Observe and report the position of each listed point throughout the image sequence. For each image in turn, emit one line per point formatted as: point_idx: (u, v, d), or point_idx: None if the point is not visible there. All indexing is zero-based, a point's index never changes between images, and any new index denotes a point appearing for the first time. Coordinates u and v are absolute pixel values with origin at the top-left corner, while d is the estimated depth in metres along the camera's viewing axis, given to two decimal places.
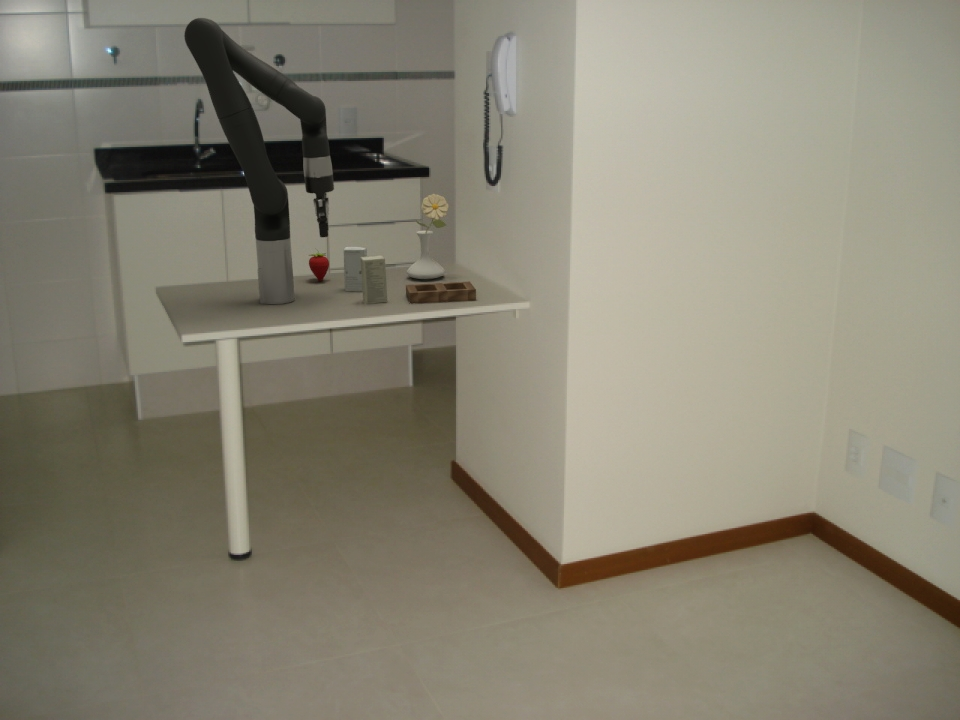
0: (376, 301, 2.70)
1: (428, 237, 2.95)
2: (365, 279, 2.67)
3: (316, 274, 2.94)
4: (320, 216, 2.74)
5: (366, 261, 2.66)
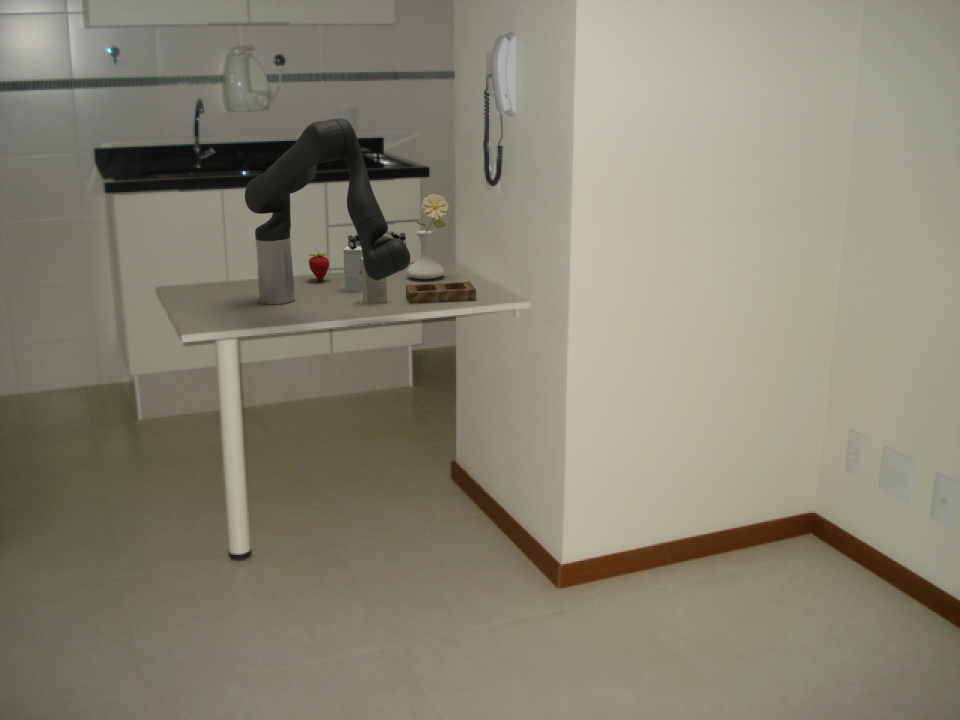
0: (376, 301, 2.70)
1: (428, 237, 2.95)
2: (365, 279, 2.67)
3: (316, 274, 2.94)
4: None
5: None
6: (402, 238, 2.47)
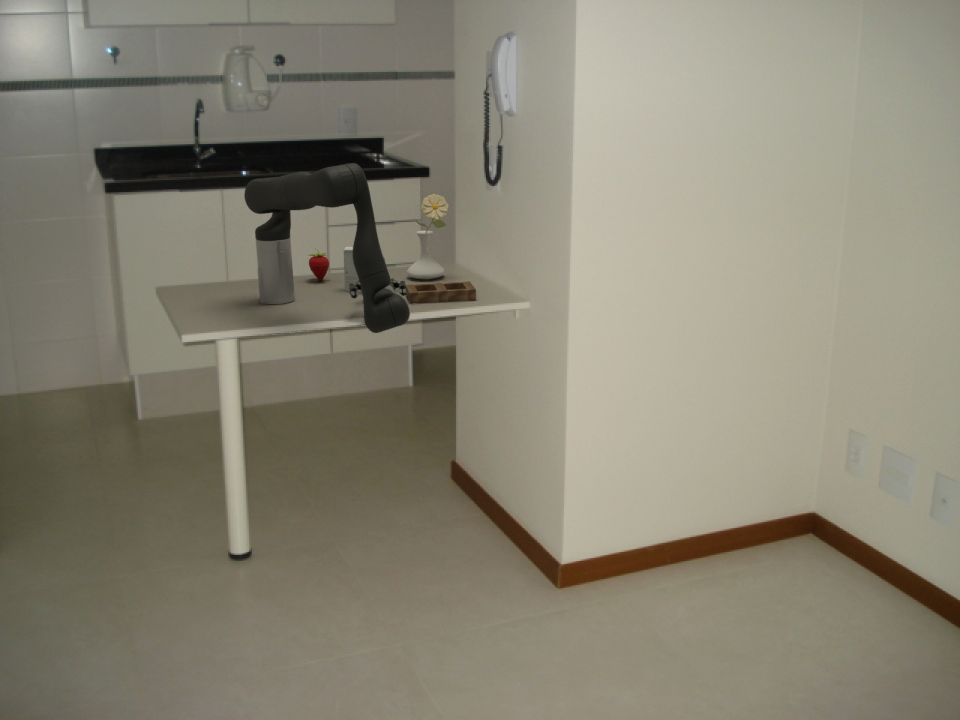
0: None
1: (428, 237, 2.95)
2: None
3: (316, 274, 2.94)
4: None
5: None
6: (402, 287, 2.53)
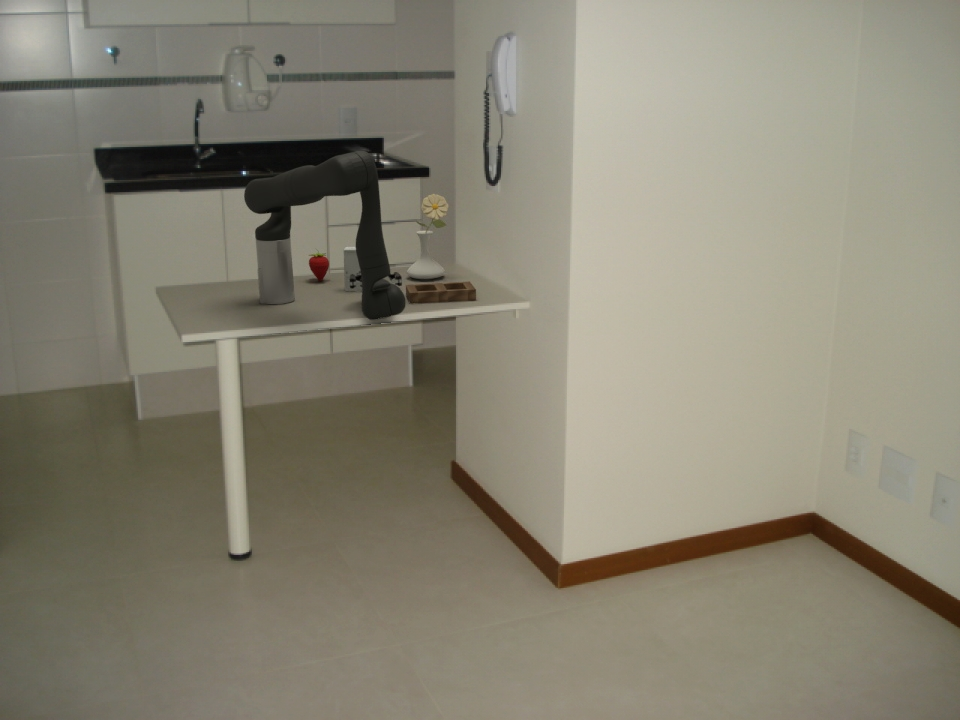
0: None
1: (428, 237, 2.95)
2: None
3: (316, 274, 2.94)
4: None
5: None
6: (398, 278, 2.63)
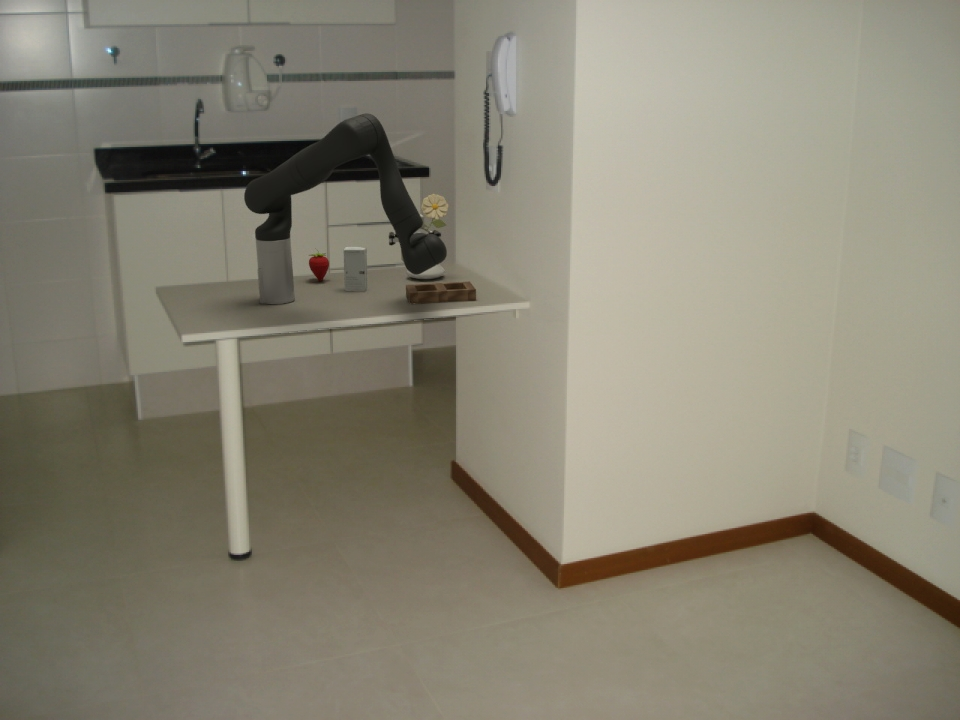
0: None
1: None
2: None
3: (316, 274, 2.94)
4: None
5: None
6: (438, 235, 2.61)
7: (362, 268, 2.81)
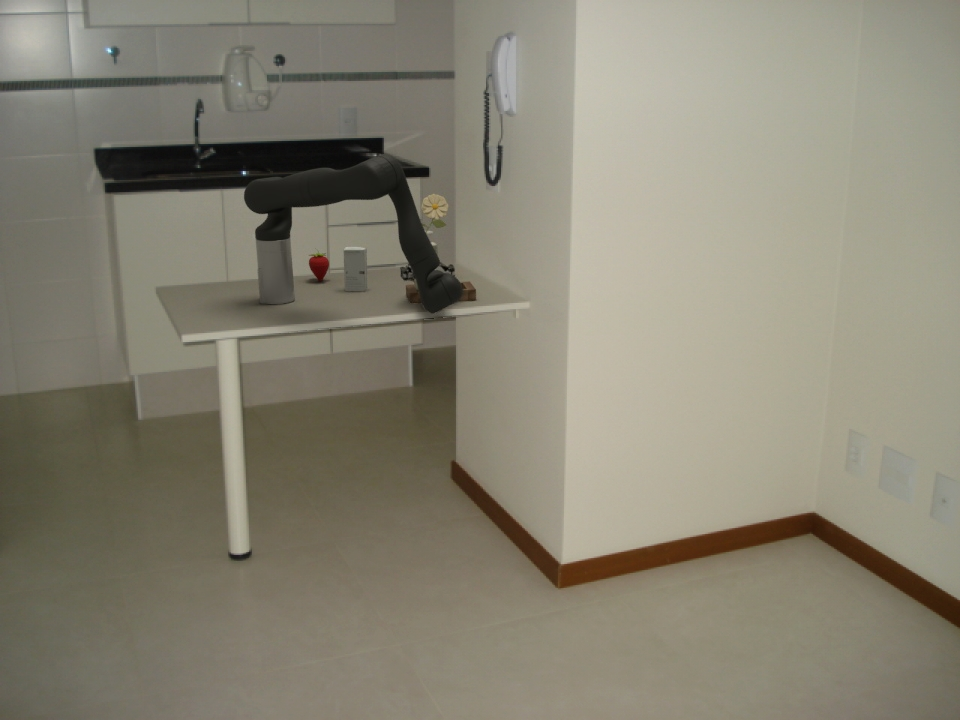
0: None
1: (428, 237, 2.95)
2: None
3: (316, 274, 2.94)
4: None
5: None
6: (451, 270, 2.64)
7: (362, 268, 2.81)
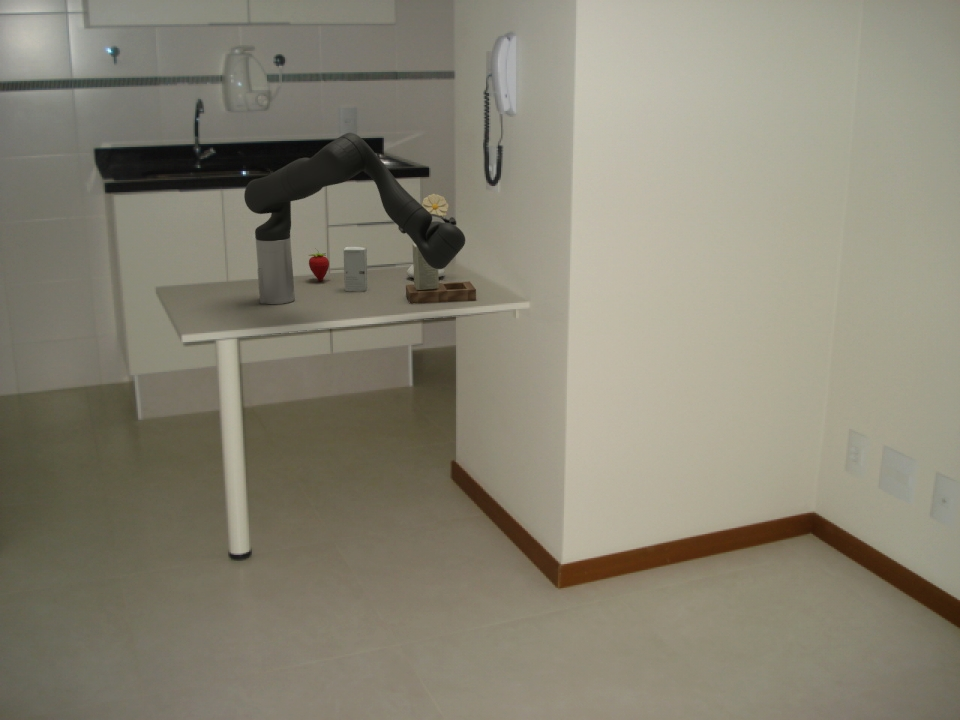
0: (428, 287, 2.71)
1: None
2: (417, 265, 2.68)
3: (316, 274, 2.94)
4: None
5: None
6: (453, 223, 2.48)
7: (362, 268, 2.81)
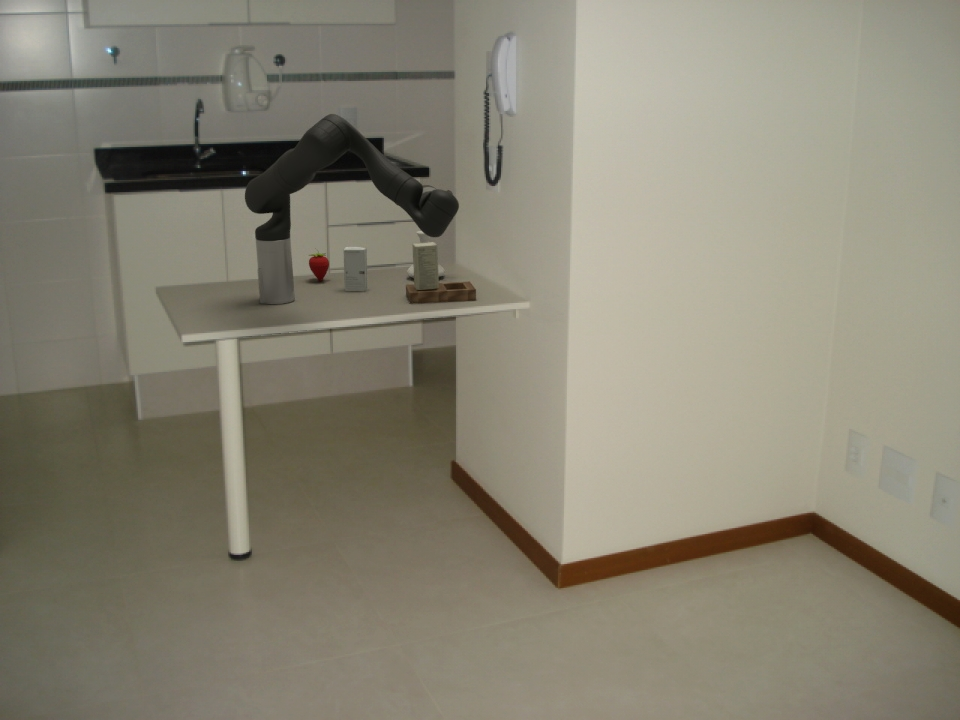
0: (428, 287, 2.71)
1: (428, 237, 2.95)
2: (417, 265, 2.68)
3: (316, 274, 2.94)
4: None
5: (419, 247, 2.67)
6: None
7: (362, 268, 2.81)
